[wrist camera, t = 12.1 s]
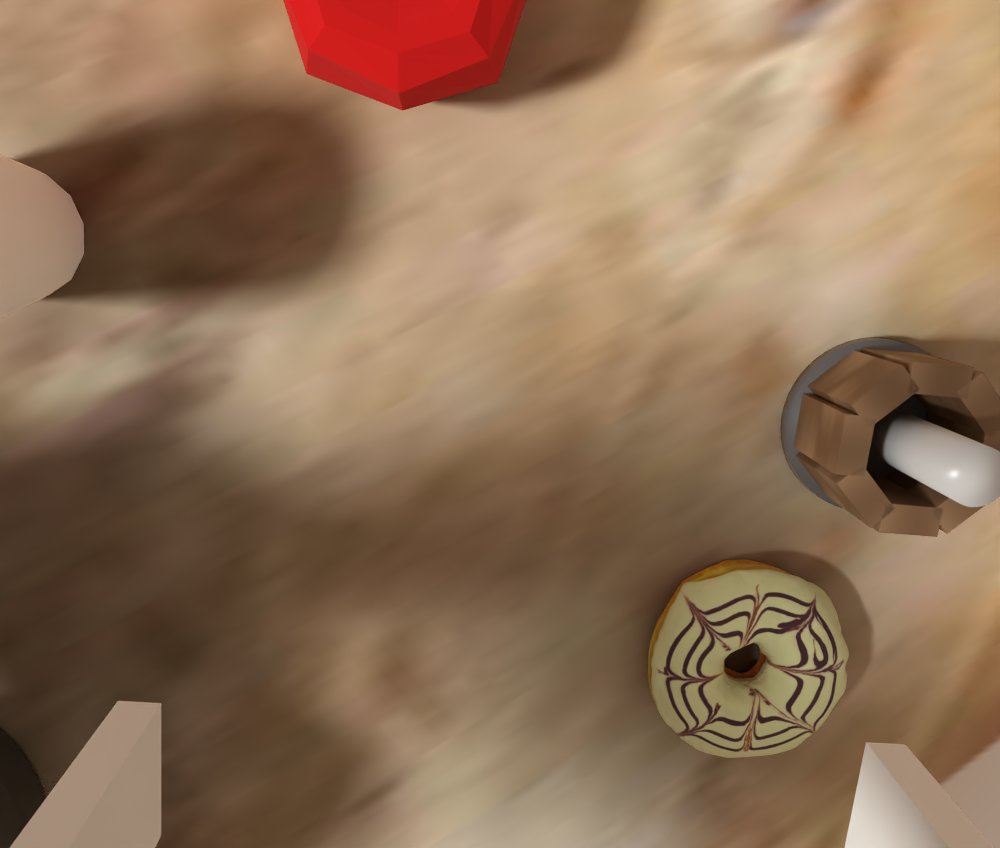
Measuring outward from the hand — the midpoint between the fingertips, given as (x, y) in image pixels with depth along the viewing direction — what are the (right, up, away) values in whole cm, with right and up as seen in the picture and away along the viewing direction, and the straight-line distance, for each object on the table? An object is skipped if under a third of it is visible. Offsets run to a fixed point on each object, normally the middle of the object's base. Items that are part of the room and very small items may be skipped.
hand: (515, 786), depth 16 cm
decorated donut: (+13, -5, +32) cm, 35 cm away
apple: (-4, +26, +24) cm, 35 cm away
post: (+19, +7, +29) cm, 35 cm away
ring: (+19, +7, +28) cm, 34 cm away
